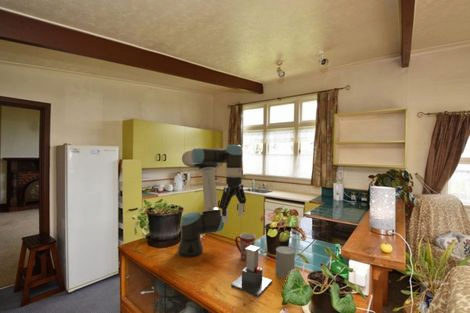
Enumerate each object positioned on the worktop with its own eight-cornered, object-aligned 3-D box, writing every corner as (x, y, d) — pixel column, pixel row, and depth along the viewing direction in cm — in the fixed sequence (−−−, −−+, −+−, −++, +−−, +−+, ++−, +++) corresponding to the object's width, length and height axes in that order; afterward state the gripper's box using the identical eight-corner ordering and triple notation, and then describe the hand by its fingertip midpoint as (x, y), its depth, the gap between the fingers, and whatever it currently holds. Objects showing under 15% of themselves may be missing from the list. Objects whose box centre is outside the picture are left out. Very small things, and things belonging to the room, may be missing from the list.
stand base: (231, 286, 107) (231, 268, 107) (246, 273, 119) (247, 256, 118) (258, 297, 99) (258, 277, 99) (272, 282, 111) (272, 264, 111)
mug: (257, 258, 136) (258, 235, 135) (249, 263, 128) (249, 239, 128) (240, 252, 143) (240, 230, 143) (231, 257, 136) (231, 234, 136)
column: (244, 282, 108) (245, 248, 108) (250, 277, 112) (250, 244, 112) (254, 286, 105) (254, 251, 105) (259, 281, 110) (259, 247, 109)
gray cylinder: (290, 280, 112) (291, 255, 112) (272, 275, 117) (272, 251, 117) (296, 272, 120) (297, 248, 120) (279, 267, 125) (279, 244, 125)
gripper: (225, 179, 102) (224, 227, 102) (253, 174, 122) (252, 214, 123) (211, 177, 106) (211, 224, 106) (241, 173, 127) (240, 212, 127)
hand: (233, 219), depth 115 cm, fingers open, 13 cm apart
